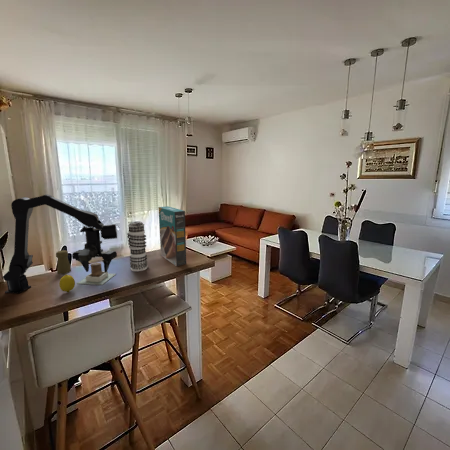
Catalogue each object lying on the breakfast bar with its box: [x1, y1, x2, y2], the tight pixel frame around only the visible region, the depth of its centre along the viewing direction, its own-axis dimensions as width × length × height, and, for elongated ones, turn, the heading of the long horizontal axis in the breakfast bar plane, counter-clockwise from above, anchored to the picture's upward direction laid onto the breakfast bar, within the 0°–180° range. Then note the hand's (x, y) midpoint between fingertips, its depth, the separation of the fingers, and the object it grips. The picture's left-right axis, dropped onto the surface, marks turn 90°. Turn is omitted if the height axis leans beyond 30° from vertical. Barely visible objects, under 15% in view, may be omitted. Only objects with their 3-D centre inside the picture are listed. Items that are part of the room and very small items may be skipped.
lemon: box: [58, 274, 76, 293], centre depth 104 cm, size 6×6×8 cm
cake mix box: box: [158, 205, 187, 267], centre depth 142 cm, size 22×6×30 cm, turn 36°
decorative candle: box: [126, 220, 148, 272], centre depth 129 cm, size 9×9×25 cm
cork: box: [55, 250, 72, 275], centre depth 125 cm, size 6×6×11 cm
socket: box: [76, 270, 117, 286], centre depth 118 cm, size 12×12×2 cm
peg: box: [90, 262, 103, 277], centre depth 117 cm, size 4×4×7 cm
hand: (96, 272), depth 117 cm, fingers open, 9 cm apart
